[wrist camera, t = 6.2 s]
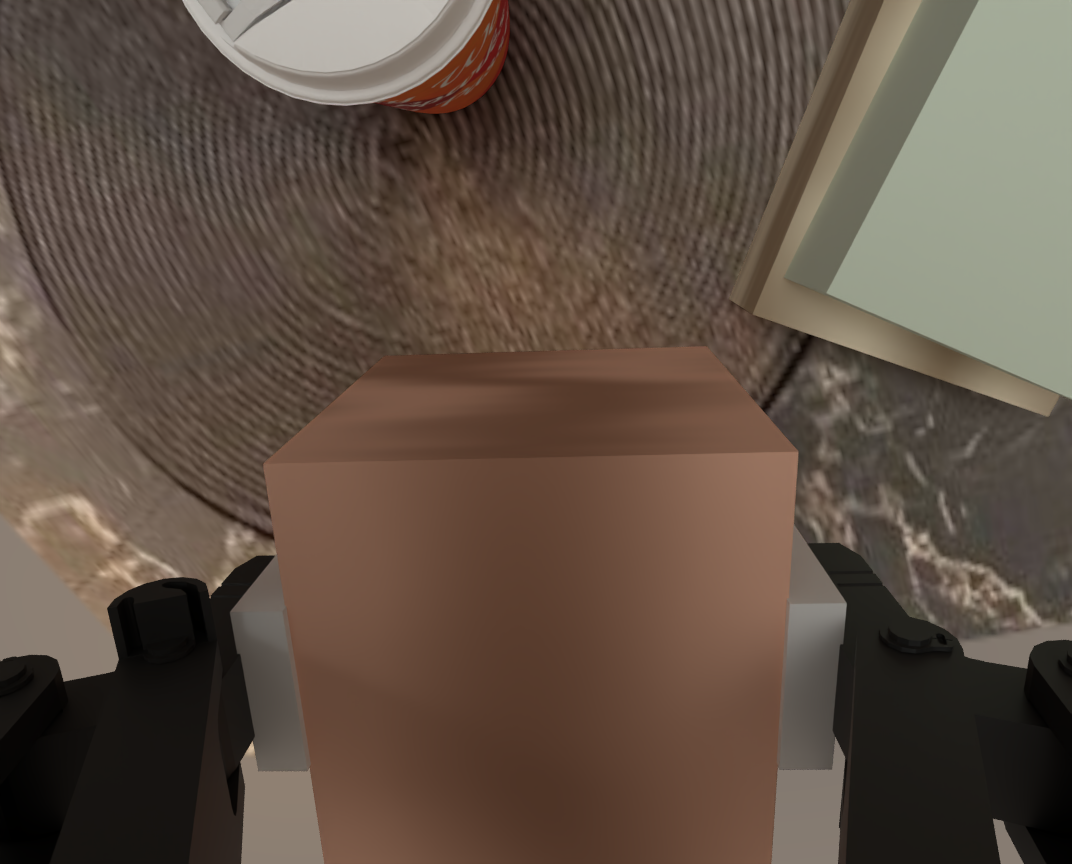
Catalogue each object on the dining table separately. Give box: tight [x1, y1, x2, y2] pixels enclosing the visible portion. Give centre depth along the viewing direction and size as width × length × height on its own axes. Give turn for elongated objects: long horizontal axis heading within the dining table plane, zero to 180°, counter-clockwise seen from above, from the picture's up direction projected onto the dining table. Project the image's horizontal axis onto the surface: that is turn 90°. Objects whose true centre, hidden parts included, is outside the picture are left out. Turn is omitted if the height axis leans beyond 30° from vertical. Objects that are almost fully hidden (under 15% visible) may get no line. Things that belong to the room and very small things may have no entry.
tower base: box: [729, 0, 1060, 417], centre depth 30 cm, size 12×12×5 cm
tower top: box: [784, 0, 1072, 400], centre depth 25 cm, size 10×10×5 cm
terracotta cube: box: [263, 346, 798, 864], centre depth 14 cm, size 7×7×7 cm
